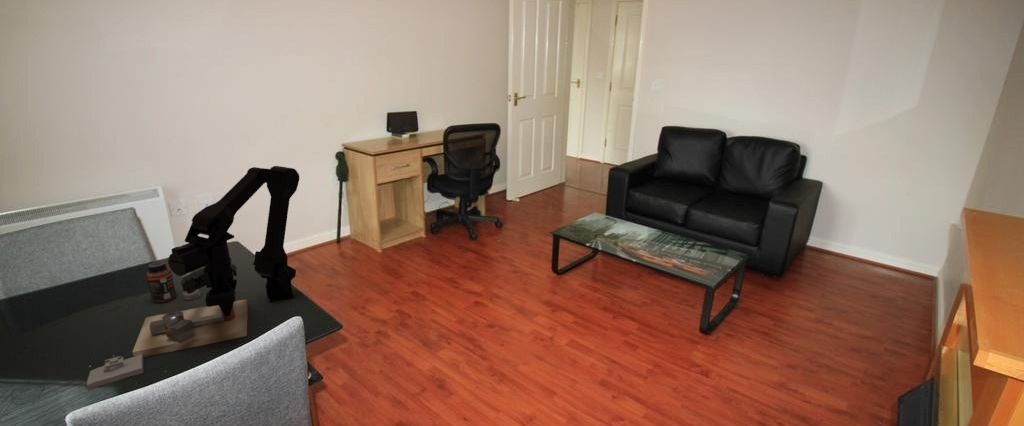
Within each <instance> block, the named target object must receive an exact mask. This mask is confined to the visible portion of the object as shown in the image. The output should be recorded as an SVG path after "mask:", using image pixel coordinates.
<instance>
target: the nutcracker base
mask: <svg viewBox="0 0 1024 426" xmlns="http://www.w3.org/2000/svg"><path fill="white" fill-rule="evenodd" d="M233 307H234V313H235V318H234V319H232V320H229V321H219V322H214V323H208V324H203V325H198V326H193V324H192V320H188V319H194V318H199V317H204V316H210V315H215V314H220V313H221V310H220V307H219V305H217V306H212V307H207V305H206V306H201V307H197V308H196V307H195V308H190V309H185V310H180V311H181V312H183V315H184V319H183V320H181V321H180V322H178V323H176V324H175V325H173V326H171V327H169V328H168V329H167V330H166V332H164V333H159V334H153V335H151V331H150V327H149V326H150V323H151V322H153V321H158V320H163V319H162V318H163V316H164V315H166V314H168V313H169V312H168V313H164V314H163V313H161V314H157V315H156V314H155V315H151V316H145V319H144V321H143V324H142V326H141V329H140V331H139V334H138V337H137V339H136V342H135V345H134V347H133V350H132V355H133V357H136V356H138V355H140V354H142V355H143V358H146V357H151V356H157V355H162V354H167V353H171V352H175V351H179V350H180V351H181V350H186V349H191V348H195V347H201V346H204V345H210V344H213V343H220V342H224V341H228V340H233V339H238V338H242V337H247V336H248V335H247V334H248V311H249V310H248V309H249V305H248V299H240V300H235V302H234V303H233Z"/></svg>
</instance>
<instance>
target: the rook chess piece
mask: <svg viewBox="0 0 1024 426" xmlns="http://www.w3.org/2000/svg"><path fill="white" fill-rule="evenodd" d="M191 273H193V271H192V272H190V273H187V274H185V275H183V276H180V278H181V280H182V279H183V278H184V277H185V276H187V275H189V274H191ZM200 296H201V292H200V289H197V290H195V291H194V292H193V293H191V294H188V293H187V292H186V291H183V292H182V298H183V300H185V301H193V300H196V299H197V298H199V297H200Z"/></svg>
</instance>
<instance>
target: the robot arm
mask: <svg viewBox="0 0 1024 426" xmlns="http://www.w3.org/2000/svg"><path fill="white" fill-rule="evenodd" d="M299 181H300V173H299V172H298V171H297V170H296V169H295V168H292V167H286V166H280V165H273V166H272V167H270V168H264V167H263V168H262V167H256V166H254V167H250V168H249V169H247V172H246V174H244V175H243V176H242V177H241V178H240V179H239V180H238V181H237V182H236V183H235V185H233V186H232V188H230V189H229V190H228V191H227V192H226V193H225V194H224V195H223V196H222V197H221V198H220V200H218V201H216V202H215V203H212V204H210V205H207V206H205V207H204V208H203V209H201V210H199V211H198V212H197V213H195V214H194V215H193V217H192V218H191V222H192V223H191V225H190V227H189V230H188V232H187V234H186V236H185V238H184V243H186V244H183V245H181V246H176V247H173V248H171V254H169V256H168V260H167V264H168V268H169V269H170V270H171V272H172V273H173V274H175V275H177V276H178V277H181V276H183V275H185V274H187V273H190V272H192V273H191V274H189V275H187V276H185V277H184V278H183V279H182V278H181V282H180V286H181V287H182V291H183V292H184V291H186V292H187V293H188V294H191V293H193V292H194V291H195V290H197V289H199V290H200V289H201V288H203V287H206V289H209V290H208V292H206V294H205V304H206V306H207V307H212V306H217V305H219V307H220V308H221V310H222V312H223V313H224V315H225V316H230V313H231V310H232V306H233V303H234V302H235V301H236V296H237V291H236V287H237V281H238V280H237V279H235V277H238V270H237V266H236V265H235V264H232V257H231V256H230V251H229V246H228V241H229V240H232V239H234V238H235V235H234V234H232V233H229V232H228V231H229V229H230V227H231V226H232V224H233V223H234V220H235V215H236V214H237V212H238V211H239V210H240V209H241V208H242V207H243V206H244V205H245V204H246V203H247V202H249V200H250V199H251V198H252V197H253V196H254V195H255V194H256V193H257V192H258V190H260V188H261V187H263V185H264V184H266V188H267V190H268V193H269V195H270V201H269V208H268V216H267V223H266V232H265V239H264V245H263V247H262V248H261V249H260V250H257V251H255V253H254V260H253V261H254V262H253V263H252V265H253V266H254V271H255V272H256V273H257V274H258V275H260V278H262V279H266V282H265V290H266V296H267V297H266V298H267V299H269V302H270V303H275V302H276V303H277V302H281V301H286V300H292V299H294V298H295V297H294V291H293V290H294V288H293V286H292V281H293V279H294V278H295V277H296V276H297V275H296V274H297V269H296V268H293V267H291V266H289V265H288V256H287V255H288V254H287V253H286V251H285V248H284V243H285V237H286V230H287V229H286V228H287V221H288V213H289V206H290V200H291V198H292V197H293V195H295V193H296V192H297V189H298V185H299ZM199 235H203V236H204V237H203V236H199ZM205 236H208V237H205Z"/></svg>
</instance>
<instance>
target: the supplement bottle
mask: <svg viewBox="0 0 1024 426" xmlns="http://www.w3.org/2000/svg"><path fill="white" fill-rule="evenodd" d="M147 267H148V271H147V273H146V280H147V284H148V288H149V292H150V296H151V299H152V301H153V302H154V303H161V304H162V303H166V302H170V301H172V300H174V299H175V298H176V297H177V291H176V286H175V282H174V276H173V274H172V273H173V272H172V270H171V269H170V267H168V266H167V265H166V262H165V261H164V260H163V261H162V260H161V261H160V260H159V261H154V262H153V261H152V262H151V263H149V264H148V266H147Z"/></svg>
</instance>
